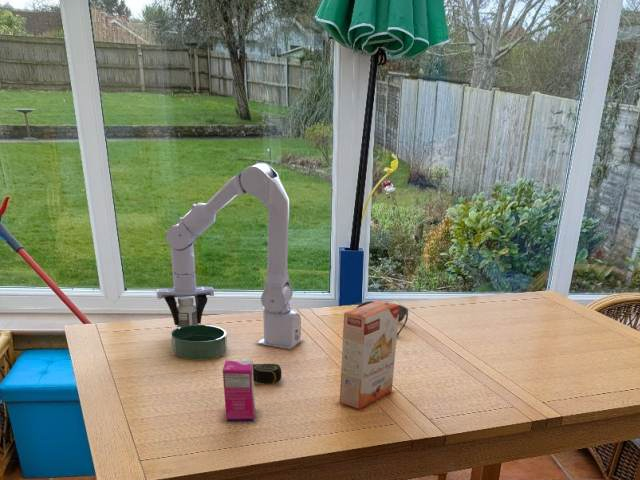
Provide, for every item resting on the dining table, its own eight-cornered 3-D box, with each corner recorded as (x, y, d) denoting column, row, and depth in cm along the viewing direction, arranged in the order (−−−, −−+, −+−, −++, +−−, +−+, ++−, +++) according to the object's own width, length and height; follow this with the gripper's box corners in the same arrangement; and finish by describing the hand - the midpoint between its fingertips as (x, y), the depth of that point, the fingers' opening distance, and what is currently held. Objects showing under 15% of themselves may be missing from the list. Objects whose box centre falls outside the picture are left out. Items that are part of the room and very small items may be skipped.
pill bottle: (192, 329, 199) (190, 294, 195) (202, 335, 196) (199, 299, 191) (174, 332, 196) (171, 296, 192) (183, 338, 193) (180, 301, 188)
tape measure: (280, 376, 174) (280, 361, 172) (282, 387, 168) (282, 372, 166) (251, 376, 172) (251, 361, 171) (252, 387, 167) (251, 372, 165)
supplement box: (227, 410, 155) (225, 359, 150) (255, 410, 156) (254, 360, 150) (224, 421, 150) (222, 369, 145) (253, 422, 151) (252, 370, 145)
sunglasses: (411, 321, 218) (412, 305, 215) (399, 344, 204) (400, 328, 201) (358, 314, 220) (358, 299, 218) (343, 337, 207) (343, 320, 204)
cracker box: (361, 411, 159) (366, 317, 149) (338, 403, 162) (341, 311, 151) (394, 392, 170) (400, 303, 159) (372, 385, 172) (377, 298, 162)
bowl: (236, 348, 189) (235, 329, 186) (210, 364, 177) (209, 345, 175) (190, 340, 192) (189, 321, 189) (162, 356, 180) (160, 336, 178)
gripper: (208, 267, 194) (211, 317, 201) (152, 269, 188) (157, 320, 195) (214, 273, 188) (217, 324, 195) (157, 276, 183) (161, 328, 190)
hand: (187, 323), depth 195 cm, fingers closed on pill bottle, 5 cm apart
